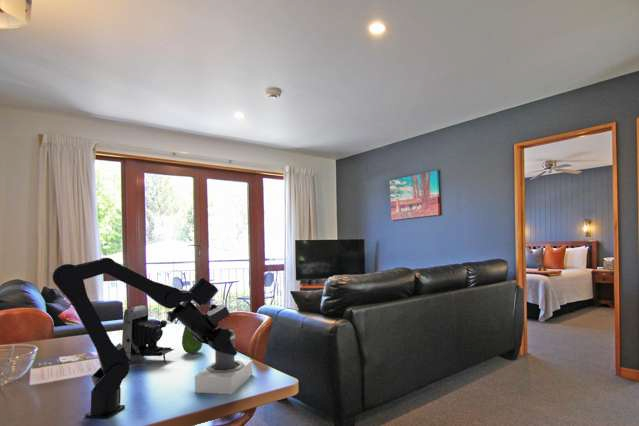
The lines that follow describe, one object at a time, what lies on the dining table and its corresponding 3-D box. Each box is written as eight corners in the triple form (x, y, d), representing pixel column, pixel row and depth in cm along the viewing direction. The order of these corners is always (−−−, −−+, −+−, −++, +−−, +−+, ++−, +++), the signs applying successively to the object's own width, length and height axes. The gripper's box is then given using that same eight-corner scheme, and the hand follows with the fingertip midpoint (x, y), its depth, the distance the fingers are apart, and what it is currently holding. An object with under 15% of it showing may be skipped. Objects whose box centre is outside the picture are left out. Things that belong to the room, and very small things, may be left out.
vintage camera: (158, 368, 130) (161, 309, 132) (119, 364, 133) (123, 307, 135) (174, 360, 139) (177, 305, 141) (138, 357, 142) (141, 303, 144)
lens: (224, 384, 109) (224, 334, 110) (210, 381, 112) (210, 332, 113) (239, 378, 114) (239, 330, 115) (225, 374, 117) (225, 328, 118)
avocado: (180, 352, 147) (180, 321, 148) (201, 349, 150) (201, 318, 151) (183, 357, 140) (183, 324, 141) (205, 354, 143) (205, 322, 144)
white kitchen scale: (231, 394, 104) (231, 375, 104) (195, 392, 106) (195, 373, 106) (252, 374, 120) (252, 358, 120) (220, 373, 122) (220, 356, 122)
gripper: (225, 300, 105) (260, 334, 111) (202, 294, 120) (234, 324, 126) (196, 333, 100) (235, 367, 105) (176, 322, 115) (211, 353, 120)
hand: (229, 351), depth 114 cm, fingers open, 9 cm apart
